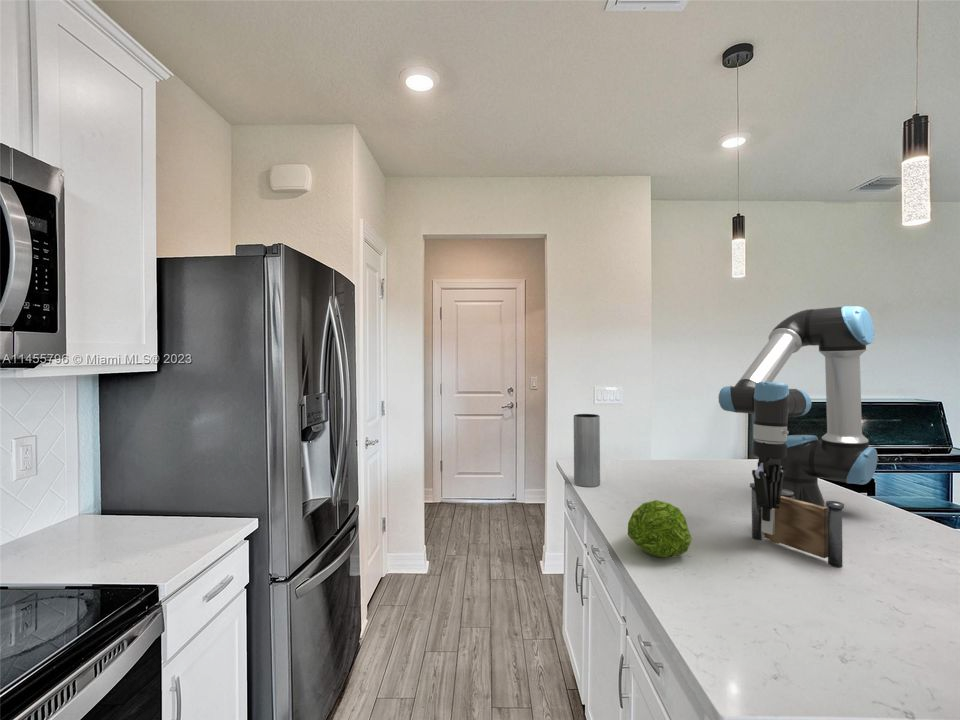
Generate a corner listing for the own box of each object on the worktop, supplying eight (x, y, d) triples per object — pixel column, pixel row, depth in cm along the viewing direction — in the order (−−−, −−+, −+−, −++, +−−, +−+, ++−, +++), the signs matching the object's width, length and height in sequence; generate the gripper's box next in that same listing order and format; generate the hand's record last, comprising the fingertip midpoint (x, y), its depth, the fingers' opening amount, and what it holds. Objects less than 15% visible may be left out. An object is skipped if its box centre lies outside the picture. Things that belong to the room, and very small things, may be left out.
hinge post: (830, 560, 117) (830, 500, 117) (847, 566, 114) (847, 504, 114) (822, 563, 116) (822, 502, 116) (839, 569, 113) (839, 506, 112)
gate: (828, 556, 117) (828, 507, 117) (821, 559, 116) (821, 509, 116) (768, 536, 131) (767, 492, 131) (761, 538, 129) (760, 493, 129)
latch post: (754, 535, 134) (754, 482, 134) (766, 539, 131) (765, 485, 131) (747, 537, 133) (747, 483, 133) (758, 541, 130) (758, 486, 130)
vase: (602, 487, 185) (602, 416, 185) (576, 487, 185) (576, 417, 185) (596, 480, 195) (596, 413, 195) (572, 480, 195) (571, 413, 195)
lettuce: (696, 540, 134) (685, 489, 137) (694, 562, 112) (681, 501, 115) (641, 543, 140) (632, 494, 143) (629, 564, 118) (618, 507, 121)
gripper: (773, 445, 118) (770, 542, 118) (797, 442, 125) (795, 533, 125) (742, 440, 124) (740, 532, 124) (767, 437, 131) (764, 524, 131)
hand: (767, 532), depth 125 cm, fingers closed
